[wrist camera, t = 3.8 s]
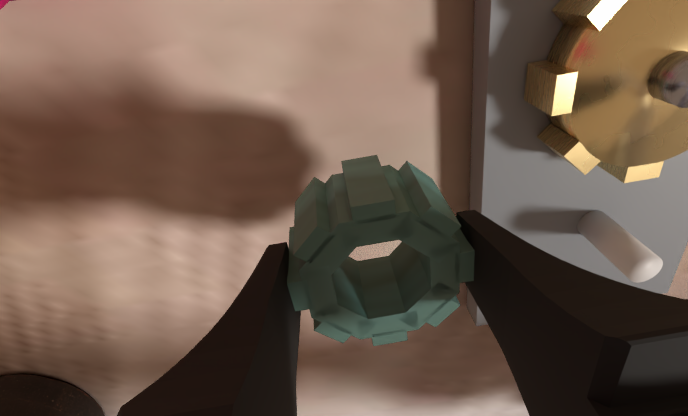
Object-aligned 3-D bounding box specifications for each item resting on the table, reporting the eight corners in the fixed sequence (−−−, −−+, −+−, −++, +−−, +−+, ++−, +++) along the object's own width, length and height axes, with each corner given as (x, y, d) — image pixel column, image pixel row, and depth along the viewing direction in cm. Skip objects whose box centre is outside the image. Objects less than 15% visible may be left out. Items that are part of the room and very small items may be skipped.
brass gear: (699, 143, 17) (768, 173, 15) (516, 175, 17) (554, 211, 15) (780, -85, 13) (898, -98, 10) (537, -43, 13) (595, -45, 10)
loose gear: (445, 272, 16) (471, 329, 14) (308, 295, 16) (308, 357, 14) (443, 143, 13) (476, 185, 11) (275, 172, 13) (268, 221, 11)
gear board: (647, 275, 24) (724, 342, 19) (466, 306, 24) (503, 381, 19) (778, -102, 14) (986, -133, 10) (475, -49, 14) (552, -57, 10)
